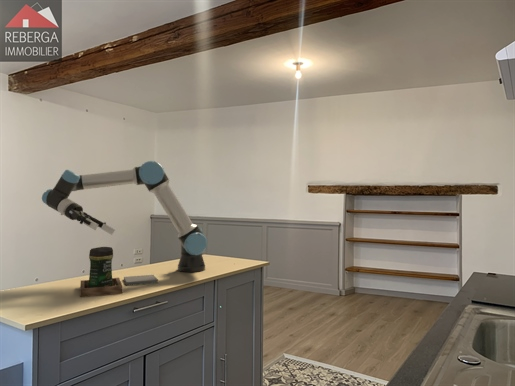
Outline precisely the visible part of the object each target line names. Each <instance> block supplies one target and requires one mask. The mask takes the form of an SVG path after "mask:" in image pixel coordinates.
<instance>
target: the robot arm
mask: <svg viewBox="0 0 515 386" xmlns="http://www.w3.org/2000/svg"><path fill="white" fill-rule="evenodd" d="M169 183H170V178H169V177H168V175H167V174H166V173H165V170H164V168H163V166H162V164H160V163H159V162H158V161H155V160H149V161H146V162H144V163H142V164H141V166H135V167H133V168H132V169H125V170H124V169H123V170H116V171H108V172H98V173H90V174H89V173H88V174H82V175H81V174H80V175H79V174H78V173H76V172H73V171H72V170H69V169H65V170H64V172H62V174H61V176H60V178H59V179H58V181H57V182H56V184H55V185H54V187H53V188H52V189H50V188H49V189H47V190H45V191H44V192H43V193H42V197H41V201H42V202H43V204H45V205H46V206H48V207H50V208H51V209H53V210H54V211H56V212H58V213H59V214H60V216H65V217H67V218H68V219H69V220H72V221H75V220H76V221H77V222H79V224H80V225H83V224H84V225H85V226H87V227H89V228H91V229H93V230H94V231H97V228H99V229H101V230H103V231H104V232H106V233H107V234H109V235H111V236H112V235H114V233H115V231H116V229H114V228H113V227H111V226H109V225H107V222H105V221H104V222H103V221H101V220H99V219H97V218H96V217H93V216H92V215H90V214H88V213H86V212H85V211H84V209H83V206H82V205H80V204H78V203H77V202H76V201H74V200H72V199H70V198H69V197H70V195H71V194H72V192H77V191H82V190H91V189H99V188H100V189H101V188H106V187H107V188H109V187H115V186H117V187H118V186H124V185H131V184H132V185H133V184H135V185H136V186H141V185H144V186H145V188H146V189H147V191H149V193H153V194H154V196H155V197H156V199H157V201H158V202H159V204H160V206H161V207H162V208H163V210H164V212H165V213H166V215H167V216H168V218H169V220H170V222H171V223H172V225H173V226H174V228H175V230H176V231H177V232H178V234H177V238H178V240H179V241H180V243H181V244H180V258H179V261H178V264H177V271H179V272H183V273H184V272H185V273H195V272H196V273H197V272H202V271H205V270H206V263H205V260H204V258H203V253H204V252H205V250H206V249H207V247H208V240H207V239H208V238H207V237H206V235H204V234H203V229H202V228H201V227H199V226H198V225H197V224H194V223H193V221H192V220H191V218H190V217H189V215H188V213H187V212H186V210H185V209H184V207H183V206H182V204H181V202H180V201H179V199H178V197H177V195H176V194H175V192H174V191H173V190H172V188H171V186H170V184H169Z"/></svg>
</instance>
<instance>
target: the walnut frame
mask: <svg viewBox="0 0 515 386" xmlns="http://www.w3.org/2000/svg"><path fill="white" fill-rule="evenodd" d="M112 282H113V286H107V287H95V288H88V284H89V279H83V280H81V279H80V288H79V289H80V290H79V293H80V295H79V297H80V298H83V297H84V298H85V296H86V297H95V296H105V295H106V296H107V295H116V294H123V284H122V281H121V280H120V277H112Z"/></svg>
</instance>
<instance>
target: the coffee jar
mask: <svg viewBox="0 0 515 386" xmlns="http://www.w3.org/2000/svg"><path fill="white" fill-rule="evenodd" d="M88 257H89V259H88V260H89V262H90V264H89V265H90V267H89V275H88V276H89V278H88V280H89V284H88V287H87V288H95V287H107V286H114V285H113V282H112V278H113V272H112V271H113V269H112V268H113V267H112V265H113V264H112V262H113V258H114V249H113V248H112V247H110V246H99V247H93V248H91V249H90V250H89V255H88Z"/></svg>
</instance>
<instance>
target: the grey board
mask: <svg viewBox="0 0 515 386" xmlns="http://www.w3.org/2000/svg"><path fill="white" fill-rule="evenodd" d="M123 281H124V283H125V285H126V286H137V285H151V284H158V283H159V279H158V278H157V277H156V276H155V275H154V274H144V275H142V274H141V275H132V276H131V275H129V276H123Z"/></svg>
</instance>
